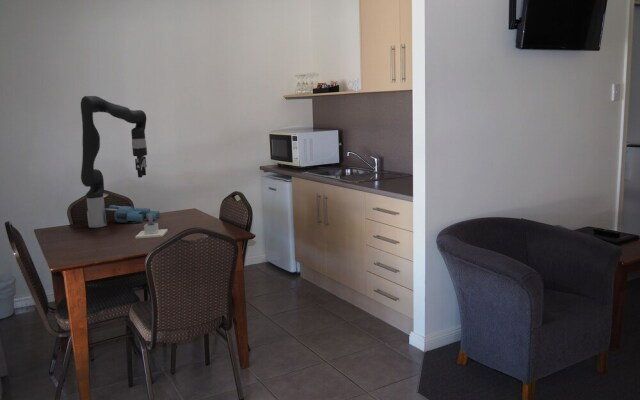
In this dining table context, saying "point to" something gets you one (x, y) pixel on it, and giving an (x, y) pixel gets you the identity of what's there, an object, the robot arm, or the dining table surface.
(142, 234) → the post
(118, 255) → the dining table surface
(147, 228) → the collar
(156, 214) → the toy
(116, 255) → the dining table surface
